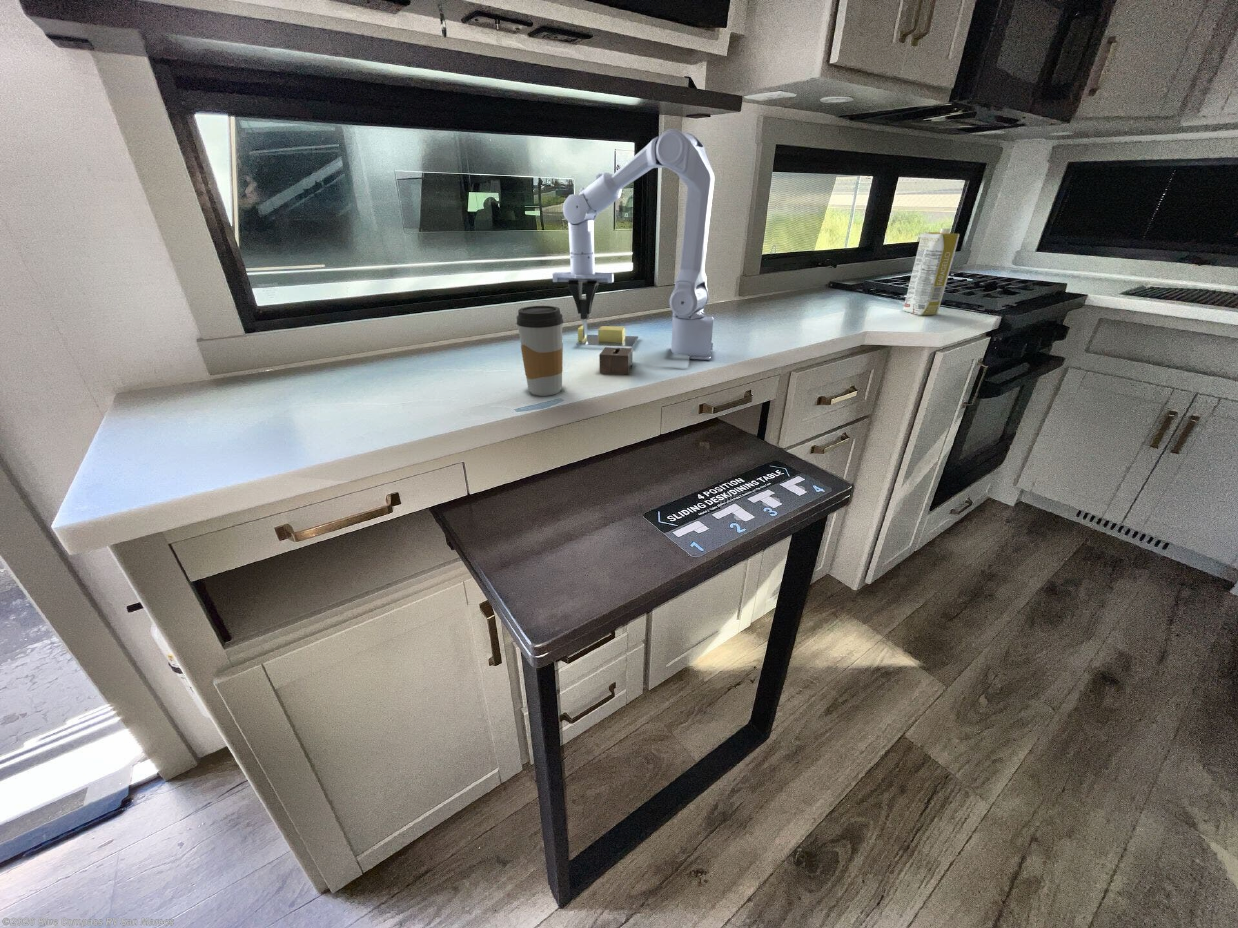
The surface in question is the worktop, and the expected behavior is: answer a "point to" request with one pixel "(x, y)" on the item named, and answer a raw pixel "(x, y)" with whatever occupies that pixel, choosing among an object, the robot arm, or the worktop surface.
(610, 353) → the knife block
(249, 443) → the worktop surface
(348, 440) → the worktop surface
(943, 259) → the juice carton
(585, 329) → the knife
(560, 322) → the coffee cup
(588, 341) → the butter dish
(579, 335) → the butter slice
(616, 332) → the butter block
